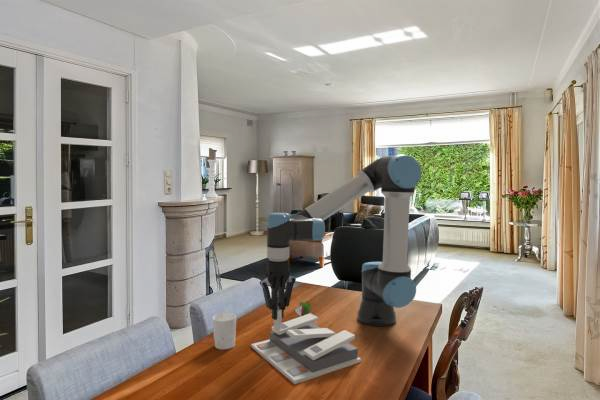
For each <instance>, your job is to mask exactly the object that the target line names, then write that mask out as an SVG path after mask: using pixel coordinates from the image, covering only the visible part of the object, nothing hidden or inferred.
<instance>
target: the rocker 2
mask: <svg viewBox="0 0 600 400" xmlns="http://www.w3.org/2000/svg"><path fill="white" fill-rule="evenodd" d="M286 334H288V335H289V336H291V337H292V338H294V339H305V338H320V337H331V336H333V335H335V334H337V333H336V332H335V331H333V330H332V329H329V328H327V327H320V328H317V329H296V330H287V333H286Z"/></svg>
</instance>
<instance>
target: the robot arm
mask: <svg viewBox="0 0 600 400" xmlns="http://www.w3.org/2000/svg"><path fill="white" fill-rule="evenodd" d="M421 177H422V167H421V165H420V163H419V161H418V160H416V158H415V157H413V156H411V155H408V154H402V153H400V154H394V155H385V156H384V155H383V156H381V157H379V158H377V159H375V160H374V161H373V162H372V161H371V163H369V164H368V165H366V166H365V167H364V168H362V169H361V170H359V171H357V175H356V176H354V177H353V178H352V179H350V180H348V181H347V182H345V183H343V184H342V185H340V186H338V187H337V188H335V189H334V190H332V191H330V192H329V193H327V194H326V195H325V196H323V197H321V198H320V199H318V200H316V201H315V202H313V203H312V204H310V205H309V206H307V207H305V208H304V209H303V210H300V211H299V212H297V213H292V214H290V213H288V212H270V213H269V214H268V216H267V221H266V222H267V223H266V258H267V260H266V275H265V278H264V279H263V280H260V281H259V285H260V287H261V288H262V292H263V297H264V301H265V307H266V308H267V309H269V310H271V318H272V320H273V326H274V328H276V329H277V330H279V329H282V323H283V321H282V320H283V319H284V317H285V315H284V314H285V313H284V312H285V310H286V307H289V306H290V303H291V299H292V298H291V297H292V293H293V289H294V284H295V282H296V281H297V280H296V277H294V276H292V275H291V274H290V259H289V258H290V246H291V245H290V243H291V242H295V241H296V242H297V241H298V242H301V241H305V242H306V241H313V242H315V241H321V240H323V239H324V237H325V235H326V225H325V220H327V219H328V218H330V217H331V216H333V215H335V214H336V213H338V212H339V211H340V210H343V209H344V208H346V207H347V206H349V205H351V204H352V203H353V202H355V201H356V200H358V199H359V198H361V197H363V196H364V195H365V194H368V193H373V192H375V191H377V190H379V189H380V193H381V194H382V195H383V196H384V217H383V218H384V219H383V224H384V225H383V243H382V249H383V250H382V261H369V262H364V263H362V265H361V266H362V267H361V302H360V305H359V309H358V310H357V316H356V317H357V320H358V321H359V323H362V324H364V325H367V326H374V327H385V326H387V327H388V326H392V325H393V324H395V323H396V321H397V315H396V311H395V308H399V309H400V308H404V307H407V306H408V305H409V304H410V303H411V302H412V301H413V300H414V299H415V298H416V297H415V296H416V294H417V285H416V283H415V282H414V280H413V279H412V267H410V266H409V265H408V247H409V244H408V243H409V223H410V222H409V221H410V220H409V219H410V199H411V197H412V196H413V195H414V194H415V187H416V186H417V185H418V183H419V182H420V181H421V179H422V178H421ZM269 285H270V287H269ZM270 289H271V291H270Z"/></svg>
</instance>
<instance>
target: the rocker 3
mask: <svg viewBox="0 0 600 400" xmlns="http://www.w3.org/2000/svg"><path fill="white" fill-rule="evenodd" d="M355 339H356V335H355V334H353V333H352V332H349V331H347V330H346V329H344V330H342V331H340V332H338V333H336V334H335V335H333V336H331V337H329V338H327V339H325V340H323V341H321V342H319V343H317V344H315V345H313V346H311V347H309V348H307V349H305V350H303V352H304V354H305V355H306V356H308V357H309V358H310V359H312V360H315V359H317V358H319V357H321V356H323V355H325V354H327V353H329V352H331V351H333V350H335V349H336V348H338V347H340V346H342V345H344V344H346V343H350V342H352V341H354V340H355Z"/></svg>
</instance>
